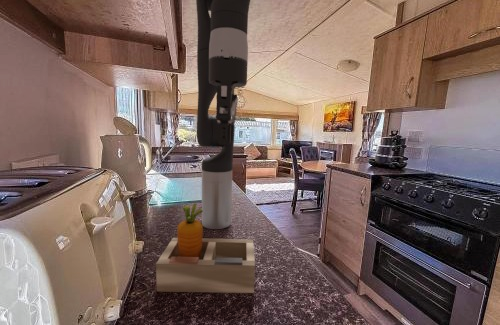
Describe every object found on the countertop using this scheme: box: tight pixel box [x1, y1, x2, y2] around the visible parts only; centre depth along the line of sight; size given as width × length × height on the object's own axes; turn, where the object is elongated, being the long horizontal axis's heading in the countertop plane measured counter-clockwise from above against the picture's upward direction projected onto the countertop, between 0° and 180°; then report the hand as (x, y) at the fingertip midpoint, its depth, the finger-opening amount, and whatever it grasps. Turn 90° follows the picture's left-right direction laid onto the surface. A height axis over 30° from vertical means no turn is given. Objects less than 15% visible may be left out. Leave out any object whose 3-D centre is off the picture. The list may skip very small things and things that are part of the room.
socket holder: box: [155, 237, 256, 294], centre depth 45 cm, size 10×18×6 cm, turn 91°
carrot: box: [176, 202, 204, 258], centre depth 45 cm, size 5×5×15 cm
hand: (226, 142), depth 47 cm, fingers open, 8 cm apart
